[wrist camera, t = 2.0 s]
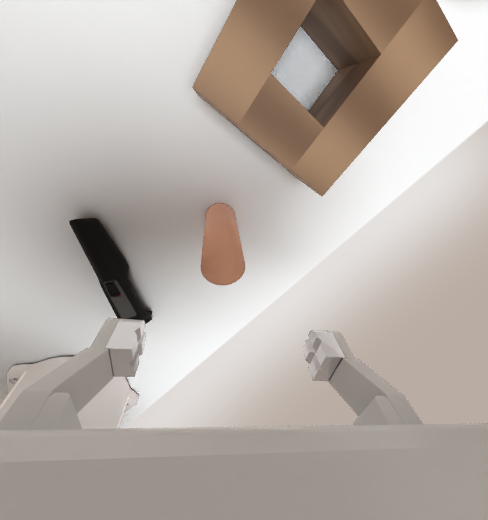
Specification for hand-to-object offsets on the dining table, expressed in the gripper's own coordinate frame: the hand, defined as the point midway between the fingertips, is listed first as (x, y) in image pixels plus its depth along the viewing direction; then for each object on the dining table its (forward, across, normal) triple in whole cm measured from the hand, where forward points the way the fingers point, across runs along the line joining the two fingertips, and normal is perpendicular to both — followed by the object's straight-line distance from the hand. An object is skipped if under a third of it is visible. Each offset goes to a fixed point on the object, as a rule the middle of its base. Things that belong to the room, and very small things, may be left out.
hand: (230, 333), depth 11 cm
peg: (+16, 0, 0) cm, 16 cm away
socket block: (+16, -4, -13) cm, 21 cm away
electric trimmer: (+16, +12, +9) cm, 22 cm away
